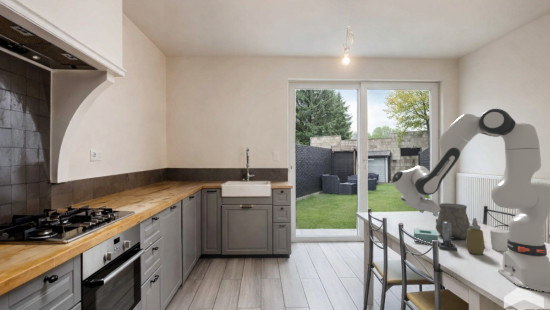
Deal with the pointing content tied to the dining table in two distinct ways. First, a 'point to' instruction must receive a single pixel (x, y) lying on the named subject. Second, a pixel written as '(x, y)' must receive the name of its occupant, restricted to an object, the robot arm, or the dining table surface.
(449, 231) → the spigot
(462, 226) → the vessel
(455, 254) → the dining table surface
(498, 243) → the white cup
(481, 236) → the squeeze bottle
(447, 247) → the mount collar
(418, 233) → the socket block
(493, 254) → the dining table surface
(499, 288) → the dining table surface
